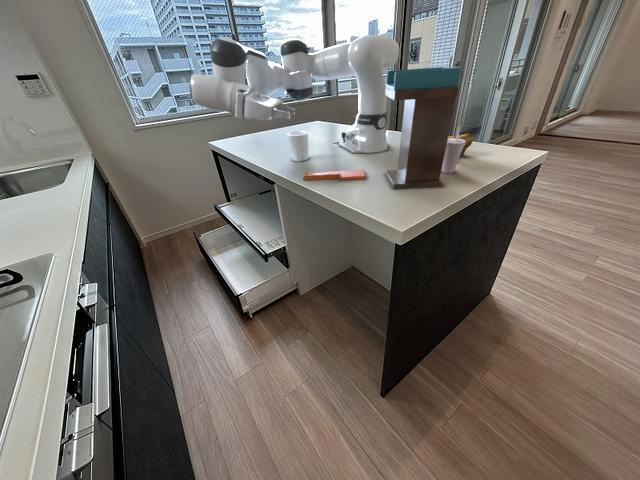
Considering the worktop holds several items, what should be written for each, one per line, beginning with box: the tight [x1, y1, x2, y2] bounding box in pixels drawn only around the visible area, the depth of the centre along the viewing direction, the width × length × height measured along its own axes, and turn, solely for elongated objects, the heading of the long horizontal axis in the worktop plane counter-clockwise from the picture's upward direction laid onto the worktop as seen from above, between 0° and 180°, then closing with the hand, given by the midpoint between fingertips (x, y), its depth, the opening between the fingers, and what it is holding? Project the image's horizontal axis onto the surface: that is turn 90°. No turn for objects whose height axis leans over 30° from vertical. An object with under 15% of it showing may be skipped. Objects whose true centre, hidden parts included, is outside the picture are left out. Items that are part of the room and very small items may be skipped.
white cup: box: [287, 130, 310, 162], centre depth 105 cm, size 8×8×10 cm
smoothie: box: [441, 125, 466, 174], centre depth 82 cm, size 6×6×14 cm
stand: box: [385, 86, 460, 190], centre depth 75 cm, size 16×13×26 cm
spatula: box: [304, 169, 366, 181], centre depth 88 cm, size 20×6×2 cm, turn 88°
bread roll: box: [448, 133, 474, 157], centre depth 97 cm, size 13×10×8 cm
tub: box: [385, 66, 462, 91], centre depth 67 cm, size 15×11×4 cm
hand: (292, 113), depth 78 cm, fingers open, 8 cm apart
